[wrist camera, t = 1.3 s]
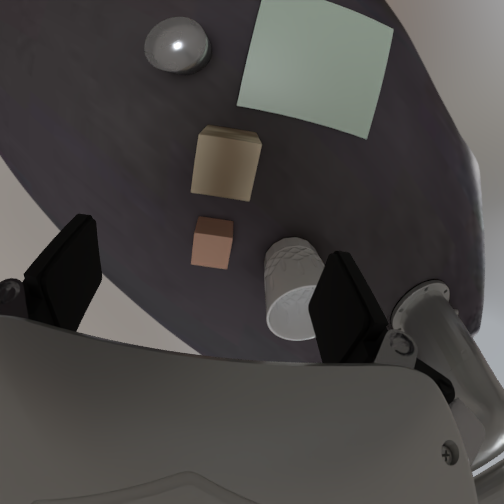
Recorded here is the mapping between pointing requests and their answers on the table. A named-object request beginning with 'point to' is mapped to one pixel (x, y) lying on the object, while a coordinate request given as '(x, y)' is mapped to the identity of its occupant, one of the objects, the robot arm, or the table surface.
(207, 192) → the maple block
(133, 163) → the table surface
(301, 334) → the white cup
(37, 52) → the table surface
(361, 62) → the sage plate
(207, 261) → the terracotta cube
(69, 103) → the table surface
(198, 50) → the grey metal cylinder
